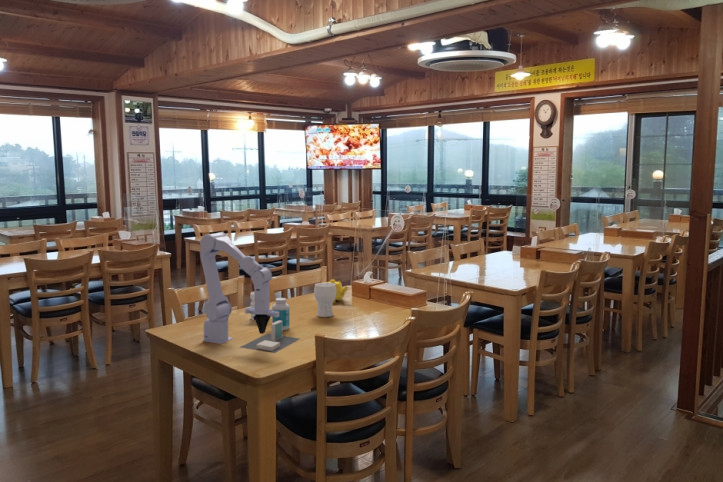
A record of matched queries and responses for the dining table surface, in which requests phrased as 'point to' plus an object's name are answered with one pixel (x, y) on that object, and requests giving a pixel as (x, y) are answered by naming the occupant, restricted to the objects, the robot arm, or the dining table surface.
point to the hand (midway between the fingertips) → (262, 332)
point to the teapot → (339, 290)
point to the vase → (252, 303)
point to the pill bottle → (281, 312)
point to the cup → (325, 298)
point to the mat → (283, 341)
